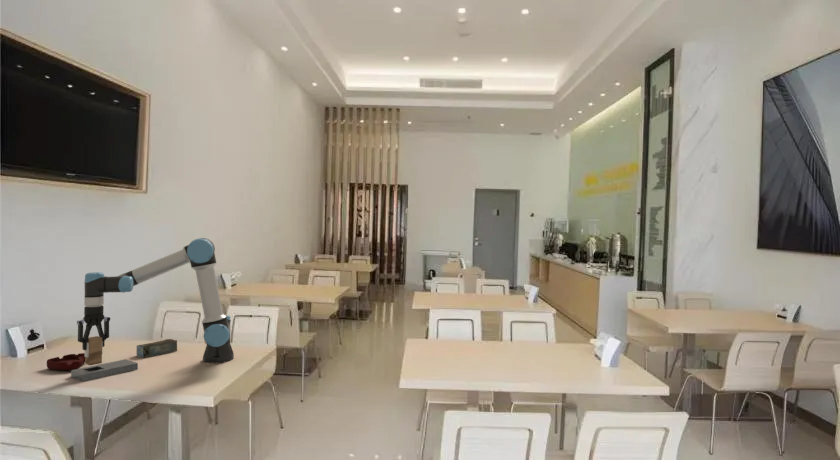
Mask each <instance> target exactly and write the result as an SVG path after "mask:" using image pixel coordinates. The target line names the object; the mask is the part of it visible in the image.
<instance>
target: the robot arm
mask: <svg viewBox="0 0 840 460" xmlns="http://www.w3.org/2000/svg"><path fill="white" fill-rule="evenodd" d="M215 250H216V247H215V244H214V242H212V240H210V239H209V238H206V237H201V238H199V237H198V238H196V239H194V240H192V241H191V242H190V243H189V244H187V245H185V246H183V248H182V249H180V250H178V251H176V252H173V253H171V254H168V255H165V256H164V257H161V258H158V259H156V260H153V261H152V262H149V263H147V264H144V265H141V266H139V267H137V268H134V269H132V270H129V271H127V272H124V273H122V274H119V275H118V276H105V274H104V272H99V271H95V272H93V271H91V272H87V273H85V275H84V283H83V284H84V298H83V299H84V310H83V311H84V313H83V314H84V317H83V318H82V319H80V320H77V321H76V325H77V342H78V343H82V350H83V351H84V353H85V357H89V343H88V342H87V341H88V338H89V337H90V334H91V330H92V329H93V327H94V326H95V327H96V329H97V332H98V337H102V349H103V348H104V347H105V341H106V340H107V339H109V338H110V321H111V317H110V316H109V317H108V316H105V314H104V300H105V299H104V298H105V297H104V293H106V294H107V293H123V294H124V293H131V292H132V291H133V289H134V287H135V286H138V285H139V284H141V283H145V282H146V281H149V280H151V279H153V278H156V277H159V276H160V275H163V274H166V273H168V272H170V271H173V270H175V269H178V268H180V267H183V266H185V265H188V264H190V266H191V269H192V270H194V271H195V275H196V276H195V277H196V279H197V286H198V291H199V296H200V301H201V306H202V311H203V316H204V318H203V320H201V323H202V329H203V339H204V342H205V344H206V346H205V349H204V352H203V356H202V362H204V363H209V362H218V363H224V361H225V362H230V361H232V360H234V357H235V356H234V355H235V354H234V351H233V348H232V345H231V321H232V320H231V316H230V315H226V314H225V313H224V312H223V307H222V302H221V297H220V293H219V286H218V282H217V281H218V280H217V277H216V272H215V271H216V270H215V265H217V259H216V254H215V252H216V251H215ZM102 322H103V325H102ZM84 324H86V325H85V329H84ZM231 359H232V360H231Z"/></svg>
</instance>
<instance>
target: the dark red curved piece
mask: <svg viewBox="0 0 840 460" xmlns="http://www.w3.org/2000/svg"><path fill="white" fill-rule="evenodd" d="M84 364H85V352H81V353H78V354H76V353H69V354H65V355H63V356H62V357H61V358H60V357H59V356H56V357H53V358H52V357H51V358H48V359H47V360H46V367H47V369H49V370H51V369H53V371H54V370H55V371H56V370H57V371H70V370H75V369H80V368H82V367H83V365H84Z"/></svg>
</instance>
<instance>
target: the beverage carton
mask: <svg viewBox="0 0 840 460" xmlns="http://www.w3.org/2000/svg"><path fill="white" fill-rule="evenodd" d="M177 351H178V340H177V339H171V338H170V339H168V338H167V339H163V340H159V341H158V340H157V341H153V342H149V343H144V344H138V345H136V357H138V358H143V359H145V358H151V357H155V356H159V355H164V354H169V353H173V352H177Z"/></svg>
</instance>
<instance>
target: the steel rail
mask: <svg viewBox="0 0 840 460" xmlns="http://www.w3.org/2000/svg"><path fill="white" fill-rule="evenodd" d="M138 367H139V365H138V362H136V361H132V360H129V359H126V358H125V359H120V360H115V361H109V362H105V363H100V364H95V365H89V366H85V367H80V368H78V369H75V370H71V371H70V377H71V378H73V379H75V380H78V381H80V382H86V381H87V382H88V381H91V380H95V379H100V378H104V377H108V376H113V375H118V374H122V373H126V372H131V371H135V370H139V368H138Z"/></svg>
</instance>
